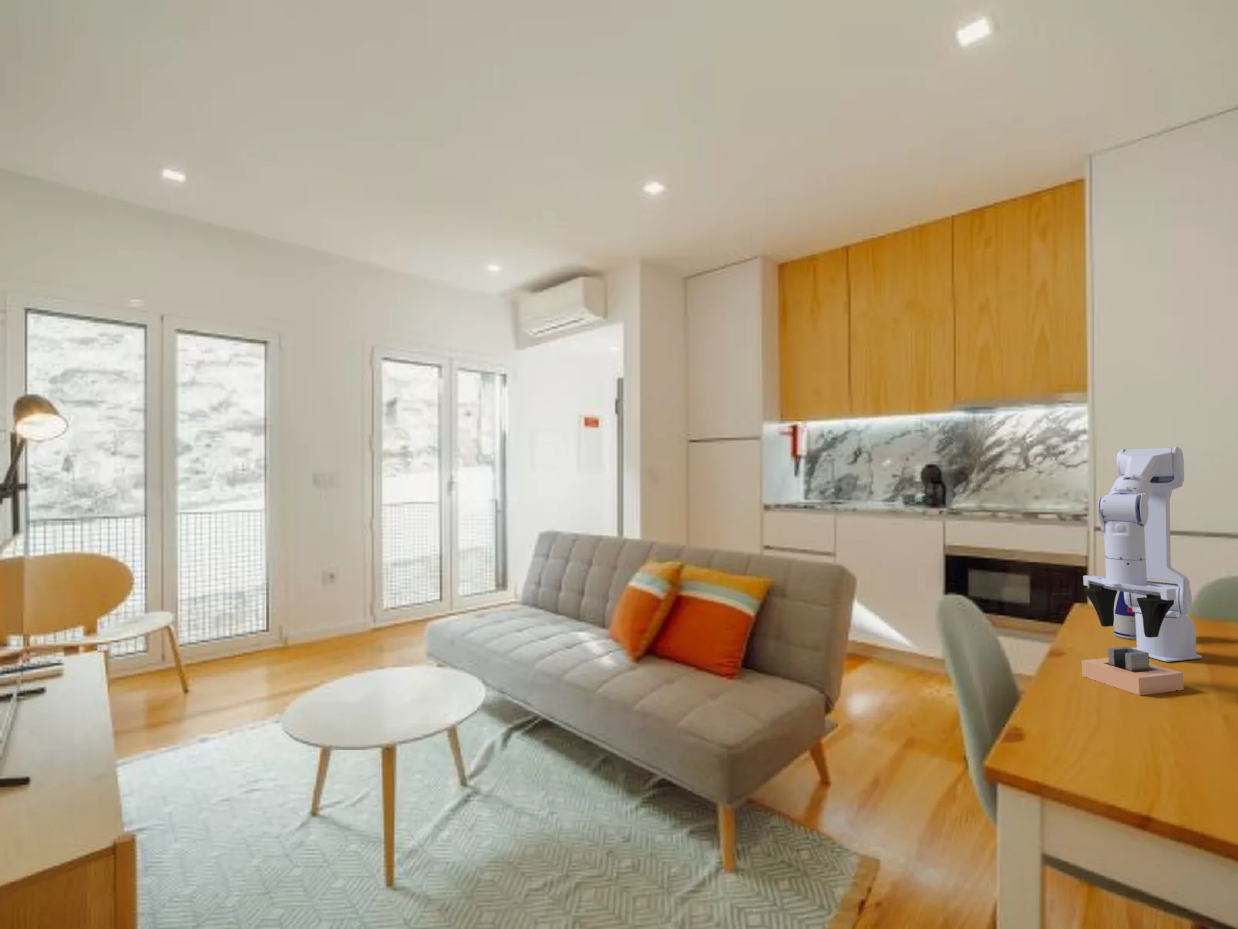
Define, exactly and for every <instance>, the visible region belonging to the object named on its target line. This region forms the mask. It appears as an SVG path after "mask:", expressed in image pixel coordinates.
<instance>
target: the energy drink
mask: <svg viewBox="0 0 1238 929" xmlns="http://www.w3.org/2000/svg"><path fill="white" fill-rule="evenodd" d="M1112 627H1113V629H1112V630H1113V635H1114V636H1115V637H1116V636H1118V637H1117V638H1119V637H1121V638H1120V639H1123V638H1124V639H1123V640H1130V641H1136V621H1135V612H1133V611H1132V608H1130V607H1128V605H1127V604H1126V603H1125V599H1124V592H1123V591H1117V594H1116V598H1115V603H1114V624H1113V626H1112Z"/></svg>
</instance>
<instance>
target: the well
mask: <svg viewBox="0 0 1238 929" xmlns="http://www.w3.org/2000/svg"><path fill="white" fill-rule="evenodd" d="M1149 669H1150V671H1145V672H1137V673H1134V672H1131V671H1127V670H1124V669H1121V668H1118V667H1114V666H1111V665H1109V657H1103V658H1102V657H1101V658H1093V659H1092V658H1090V659H1083V660H1082V659H1081V676H1082V677H1083V678H1086V677H1087V679H1090V680H1092V681H1095V680H1096V682H1099V683H1101V684H1104V683H1105V684H1104V685H1108V686H1110V687H1112V688H1117V689H1119V690H1123V691H1125V692H1127V693H1131V694H1134V695H1136V696H1145V695H1154V694H1162V693H1170V692H1177V691H1176V690H1178V691H1183V690H1185V689H1184V688H1185V687H1184V686H1185V685H1184V673H1183V672H1181V671H1177V670H1174V669H1170V668H1168V667H1164V666H1159V665H1156V664H1153V663H1150V662H1149ZM1169 691H1170V692H1169Z"/></svg>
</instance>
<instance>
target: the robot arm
mask: <svg viewBox="0 0 1238 929" xmlns="http://www.w3.org/2000/svg"><path fill="white" fill-rule="evenodd" d="M1116 469H1117V473H1118V474H1119V477H1117V479H1115V481H1114V482H1113V485H1112V487H1111V489H1110V490H1109V492H1108V493H1107V494H1105V495H1104V496H1100V497H1099V498H1098V502H1097V515H1098V519H1099V522H1100V523H1099V524H1100V531H1101V533H1102V534H1103V544H1104V546H1103V547H1104V563H1105V565H1104V566H1105V576H1100V575H1093V574H1089V575H1083V576H1082V578H1083V586H1086V587H1088V588H1083V589H1084V594H1085V595H1086V597H1087V598H1088V599H1089V600H1090V602H1091V604H1092V605H1093V607H1094V610H1095V611H1096V615H1097V617H1098V620H1099V623H1100V625H1101V627H1103V628H1105V627H1106V628H1107V627H1113V624H1114V603H1115V598H1116V594H1117V591H1123V592H1124V599H1125V603H1126V604H1127V605H1128V607H1130V608H1132V611H1133V612H1135V621H1136V640H1135V641H1136V647H1132V648H1133V649H1136V650H1140V651H1144V652H1147V653H1149V658H1151V659H1156V660H1158V661H1162V662H1166V663H1169V662H1179V661H1185V660H1186V661H1188V660H1197V659H1202V658H1203V657H1202V655H1200V654H1197V641H1196V638H1197V637H1196V627H1195V624H1194V622H1193V620H1192V619H1191V618H1190V617H1189V616H1187V615H1188V614H1189V613H1191V611H1192V599H1193V598H1192V590H1191V586H1190V585H1191V584H1190V580H1189V579H1188V577H1187V576H1186V575H1184V574H1183V573H1182V572H1179V571H1178V570H1176V569H1175V568H1173V567H1172V566H1171V561H1172V560H1171V559H1172V556H1171V506H1170V505H1171V503H1170V501H1171V496H1172V492H1173V490H1176V489H1178V488H1181V487H1183V483H1184V482H1185V460H1184V453H1183V450H1182V449H1181V448H1179V446H1172V447H1155V448H1152V447H1151V448H1134V449H1133V448H1131V449H1130V448H1129V449H1126V448H1121V449H1120V450H1119V451H1118V452H1117V454H1116ZM1149 579H1150V580H1149ZM1151 580H1157V581H1151ZM1160 581H1168V582H1160ZM1169 581H1170V582H1173V583H1170V582H1169Z"/></svg>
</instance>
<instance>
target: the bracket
mask: <svg viewBox="0 0 1238 929" xmlns="http://www.w3.org/2000/svg"><path fill="white" fill-rule="evenodd" d="M1133 648H1134V647H1129V646H1116V647H1108V648H1107V651H1108V654H1107V655H1108V658H1109V665H1111V666H1114V667H1118V668H1121V669H1124V670H1127V671H1131V672H1134V673H1137V672H1145V671H1150V669H1149V663H1150V657H1149V653H1147V652H1144V651H1140V650H1136V649H1133Z"/></svg>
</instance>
